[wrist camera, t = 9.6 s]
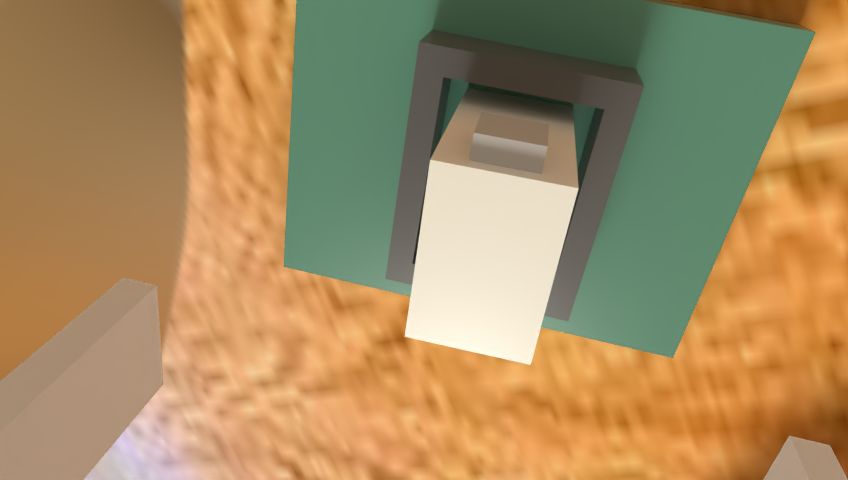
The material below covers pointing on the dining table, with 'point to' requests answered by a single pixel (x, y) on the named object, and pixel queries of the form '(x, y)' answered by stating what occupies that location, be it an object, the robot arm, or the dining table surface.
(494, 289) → the plug
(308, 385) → the dining table surface
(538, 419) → the dining table surface
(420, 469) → the dining table surface
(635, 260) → the board
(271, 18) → the dining table surface
